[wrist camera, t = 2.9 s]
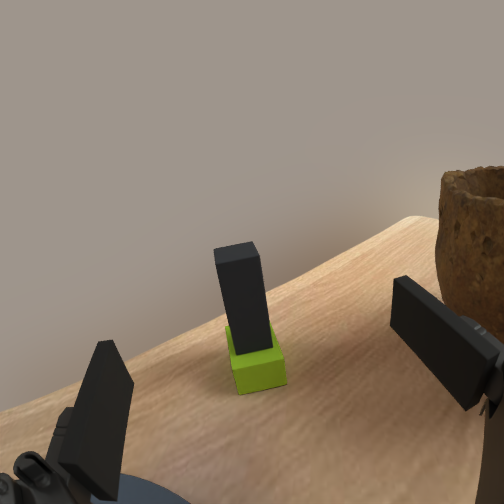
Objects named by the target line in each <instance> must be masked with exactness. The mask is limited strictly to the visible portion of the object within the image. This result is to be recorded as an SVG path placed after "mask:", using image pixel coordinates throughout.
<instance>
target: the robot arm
mask: <svg viewBox="0 0 504 504" xmlns="http://www.w3.org/2000/svg"><path fill="white" fill-rule="evenodd" d="M390 327H391V328H392V329H393V330H394V331H395V332H396V333H397V334H398V335H399V336H400V337H401V338H402V340H403V341H404V342H405V343H406V344H407V345H408V346H409V347H410V348H411V349H412V350H413V352H414V353H415V354H416V355H417V356H418V357H419V358H420V359H421V361H422V362H423V363H424V364H425V365H426V366H427V367H428V368H429V370H430V371H431V372H432V373H433V374H434V375H435V376H436V377H437V379H438V380H439V381H440V382H441V383H442V384H443V386H444V387H445V388H446V389H447V390H448V391H449V392H450V394H451V395H452V396H453V397H454V398H455V400H456V401H457V402H458V403H459V404H460V405H461V407H462V408H463V409H464V410H465V411H467V410H469V409H470V408H472V407H473V406H475V405H476V404H478V403H479V401H480V399H481V397H482V395H483V393H484V394H485V395H486V396H487V399H486V401H485V403H484V405H483V407H482V409H481V411H480V414H479V415H480V416H482V414H483V412H484V410H485V429H484V443H483V454H482V463H481V471H480V478H479V484H478V490H477V496H476V501H475V504H504V344H502V343H501V342H500V341H499V340H498V339H497V338H495V337H494V336H493V335H492V334H491V333H489V332H487V330H486V329H485V328H483V327H481V325H480V324H478V323H477V322H476V321H475V320H473V319H471V318H469V317H467V316H464V315H462V316H460V317H459V316H458V315H457V314H456V313H454V312H453V311H452V310H451V309H449V308H448V307H447V306H446V305H444V304H443V303H442V302H441V301H439V300H438V299H437V298H435V297H434V296H433V295H432V294H430V293H429V292H428V291H426V290H425V289H424V288H423V287H421V286H420V285H419V284H417V283H416V282H415V281H413V280H412V279H411V278H409V277H408V276H407V275H405V276H402V277H398V278H395V279H394V281H393V297H392V309H391V320H390ZM133 388H134V382H133V380H132V378H131V376H130V374H129V373H128V371H127V369H126V367H125V364H124V362H123V360H122V358H121V356H120V354H119V352H118V350H117V348H116V346H115V343H114V341H113V340H107V341H100V342H98V343H97V346H96V349H95V351H94V353H93V356H92V358H91V361H90V364H89V366H88V369H87V371H86V374H85V377H84V379H83V382H82V385H81V388H80V390H79V393H78V396H77V399H76V402H75V405H74V407H66V408H65V410H64V411H63V412H62V413H61V415H60V416H59V418H58V421H57V424H56V428H55V430H54V433H53V435H54V436H52V439H51V442H50V445H49V448H48V452H47V455H46V458H45V460H44V459H43V458H42V457H41V456H40V455H39V454H38V453H36V452H34V451H28V452H25V453H22V454H21V455H20V456H19V457H18V458H17V459H16V461H15V463H14V467H13V470H14V474H15V475H16V476H17V477H18V478H19V480H13V479H12V478H11V477H10V476H9V475H8V474H5V473H0V504H93V503H92V502H91V501H90V500H91V494H92V495H93V496H95V497H96V498H97V499H98V500H101V501H115V502H117V501H118V490H119V481H120V472H121V464H122V456H123V449H124V441H125V435H126V428H127V422H128V416H129V410H130V404H131V398H132V393H133Z"/></svg>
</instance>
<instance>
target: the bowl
mask: <svg viewBox="0 0 504 504" xmlns="http://www.w3.org/2000/svg"><path fill="white" fill-rule="evenodd" d="M435 263H436V270H437V277H438V282H439V286H440V290H441V294H442V299H443V301H444V303H445V305H446V306H447V307H448V308H449V309H451V310H452V311H453V312H454V313H456V314H457V315H458V316H459V317H460V316H462V315H464V316H467V317H469V318H471V319H473V320H475V321H476V322H477V323H478V324H480V325H481V327H483V328H485V329H486V330H487V332H489V333H491V334H492V335H493V336H494V337H495V338H497V339H498V340H499V341H500V342H501V343H502V344H504V166H498V167H494V166H488V167H486V168H483V167H477V168H475V169H470V170H467V171H465V172H464V171H460V170H456V171H448V172H445V173H444V175H443V177H442V179H441V191H440V199H439V230H438V235H437V240H436V246H435Z"/></svg>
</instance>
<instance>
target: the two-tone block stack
mask: <svg viewBox="0 0 504 504" xmlns="http://www.w3.org/2000/svg"><path fill="white" fill-rule="evenodd" d="M214 257H215V265H216V269H217V274H218V279H219V283H220V287H221V292H222V297H223V301H224V306H225V310H226V315H227V319H228V323H229V326H225V329H226V336H227V342H228V348H229V354H230V360H231V366H232V371H233V375H234V379H235V382H236V386H237V390H238V393H239V395H242V394H247V393H252V392H256V391H261V390H265V389H270V388H274V387H278V386H282V385H286V384H287V378H286V370H285V361H284V357H283V354H282V352H281V349H280V346H279V344H278V341H277V339H276V336H275V334H274V331H273V328H272V326H271V323H270V321H269V314H268V308H267V301H266V294H265V288H264V281H263V274H262V267H261V261H260V255H259V254H258V251H257V249H256V247H255V245H254V244H253V242H247V243H241V244H236V245H231V246H226V247H221V248H216V249H214Z"/></svg>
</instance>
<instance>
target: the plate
mask: <svg viewBox="0 0 504 504" xmlns="http://www.w3.org/2000/svg"><path fill="white" fill-rule="evenodd" d="M90 501H91V502H92V503H93V504H190V503H189V502H187V501H186V500H184V499H183V498H182V497H180V496H179V495H177V494H175V493H173V492H171V491H169V490H168V489H166V488H164V487H162V486H159V485H157V484H155V483H152V482H150V481H148V480H144V479H141V478H138V477H135V476H131V475H126V474H122V473H120V481H119V490H118V501H117V502H115V501H101V500H98V499H97V498H96V497H95V496H93V495H92V494H91V500H90Z"/></svg>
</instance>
